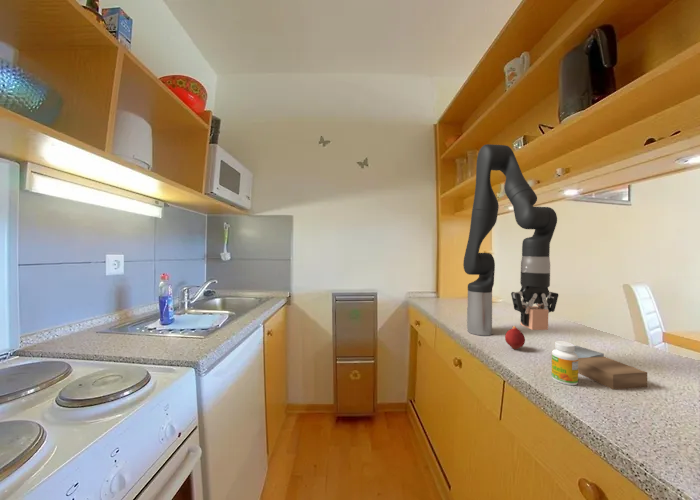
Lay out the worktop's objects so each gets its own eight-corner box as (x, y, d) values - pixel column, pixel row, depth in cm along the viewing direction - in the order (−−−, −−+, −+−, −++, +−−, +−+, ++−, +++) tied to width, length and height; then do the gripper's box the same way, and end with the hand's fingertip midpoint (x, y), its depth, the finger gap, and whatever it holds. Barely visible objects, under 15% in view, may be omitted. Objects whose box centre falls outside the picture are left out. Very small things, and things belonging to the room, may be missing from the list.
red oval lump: (520, 346, 93) (520, 324, 93) (528, 353, 87) (528, 329, 87) (502, 345, 94) (502, 323, 94) (509, 351, 88) (509, 328, 88)
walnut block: (573, 372, 74) (573, 358, 74) (603, 370, 76) (603, 356, 76) (613, 390, 64) (613, 374, 65) (647, 388, 66) (647, 372, 66)
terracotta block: (520, 324, 84) (521, 306, 84) (535, 324, 85) (535, 306, 85) (532, 329, 79) (532, 310, 79) (548, 329, 80) (548, 310, 80)
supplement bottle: (546, 377, 70) (546, 341, 70) (559, 374, 72) (559, 339, 72) (569, 387, 65) (569, 348, 65) (583, 383, 67) (583, 345, 67)
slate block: (562, 361, 82) (562, 348, 82) (576, 358, 84) (576, 345, 84) (589, 370, 75) (589, 356, 75) (603, 367, 78) (603, 353, 78)
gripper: (547, 269, 86) (546, 321, 86) (505, 269, 85) (504, 321, 86) (567, 272, 78) (566, 328, 79) (521, 272, 78) (520, 329, 78)
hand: (533, 324), depth 82 cm, fingers closed on terracotta block, 5 cm apart
